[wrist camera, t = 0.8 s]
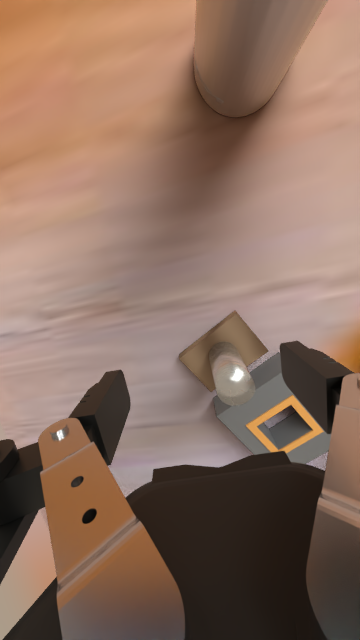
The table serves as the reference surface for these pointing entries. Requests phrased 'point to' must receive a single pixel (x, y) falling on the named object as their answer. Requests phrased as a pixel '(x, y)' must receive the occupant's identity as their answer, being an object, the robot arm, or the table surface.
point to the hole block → (269, 399)
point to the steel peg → (230, 374)
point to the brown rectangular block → (224, 331)
